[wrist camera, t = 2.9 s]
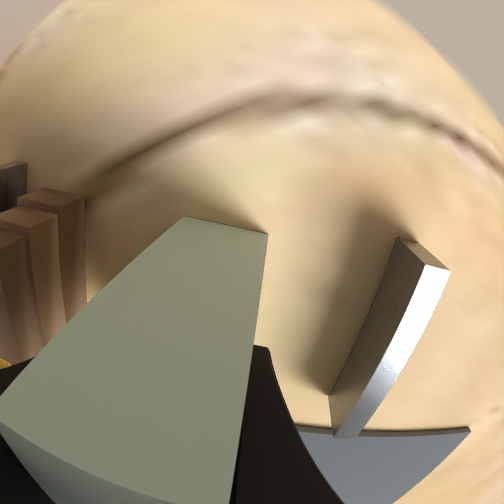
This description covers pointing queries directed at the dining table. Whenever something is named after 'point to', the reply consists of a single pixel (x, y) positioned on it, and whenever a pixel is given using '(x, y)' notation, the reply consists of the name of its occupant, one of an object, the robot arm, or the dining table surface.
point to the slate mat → (378, 460)
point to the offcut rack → (372, 333)
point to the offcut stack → (40, 270)
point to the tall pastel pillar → (146, 377)
